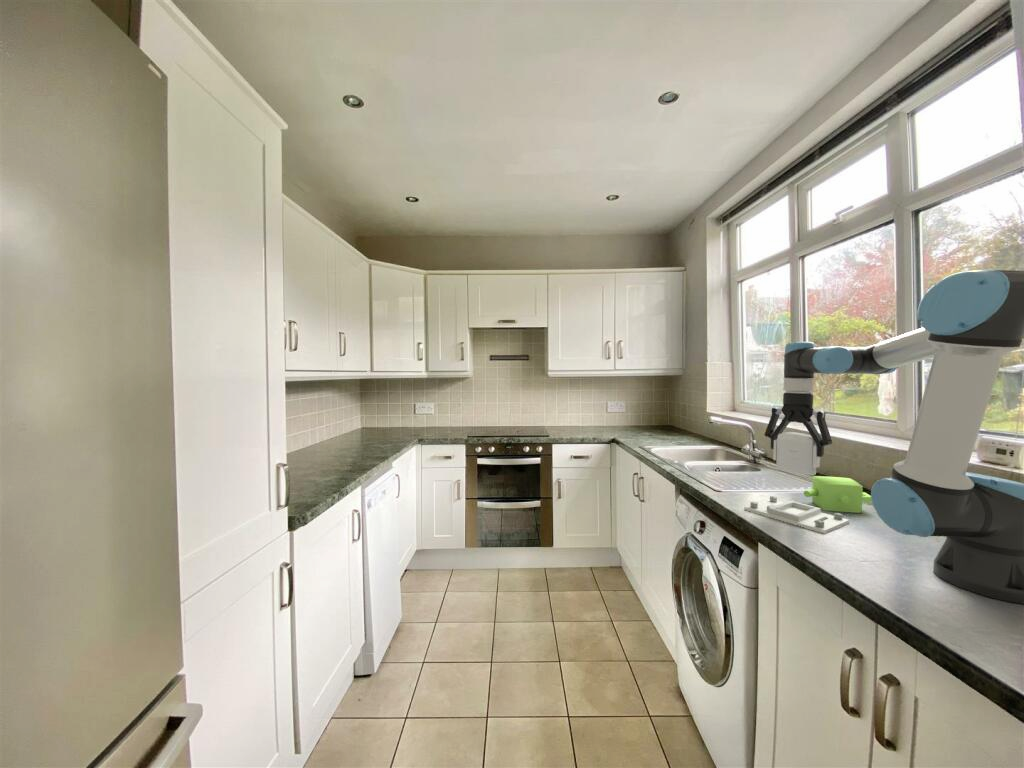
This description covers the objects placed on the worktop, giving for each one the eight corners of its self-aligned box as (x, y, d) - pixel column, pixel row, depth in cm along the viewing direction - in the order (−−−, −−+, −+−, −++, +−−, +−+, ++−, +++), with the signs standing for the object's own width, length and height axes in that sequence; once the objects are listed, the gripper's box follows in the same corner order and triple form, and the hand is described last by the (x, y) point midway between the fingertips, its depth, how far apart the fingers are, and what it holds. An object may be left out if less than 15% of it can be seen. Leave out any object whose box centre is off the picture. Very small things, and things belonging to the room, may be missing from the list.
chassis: (849, 523, 117) (849, 514, 117) (824, 533, 109) (824, 525, 109) (770, 501, 136) (770, 494, 136) (744, 509, 128) (744, 502, 128)
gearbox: (808, 511, 128) (809, 483, 127) (796, 500, 138) (797, 474, 137) (876, 517, 123) (877, 487, 122) (859, 505, 132) (860, 478, 131)
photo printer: (773, 469, 125) (775, 431, 124) (778, 467, 127) (779, 430, 127) (813, 476, 117) (815, 435, 116) (817, 474, 119) (819, 434, 119)
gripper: (849, 394, 113) (846, 470, 114) (765, 390, 133) (763, 455, 134) (837, 394, 109) (834, 473, 110) (753, 390, 129) (751, 457, 130)
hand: (795, 463), depth 122 cm, fingers closed on photo printer, 10 cm apart
